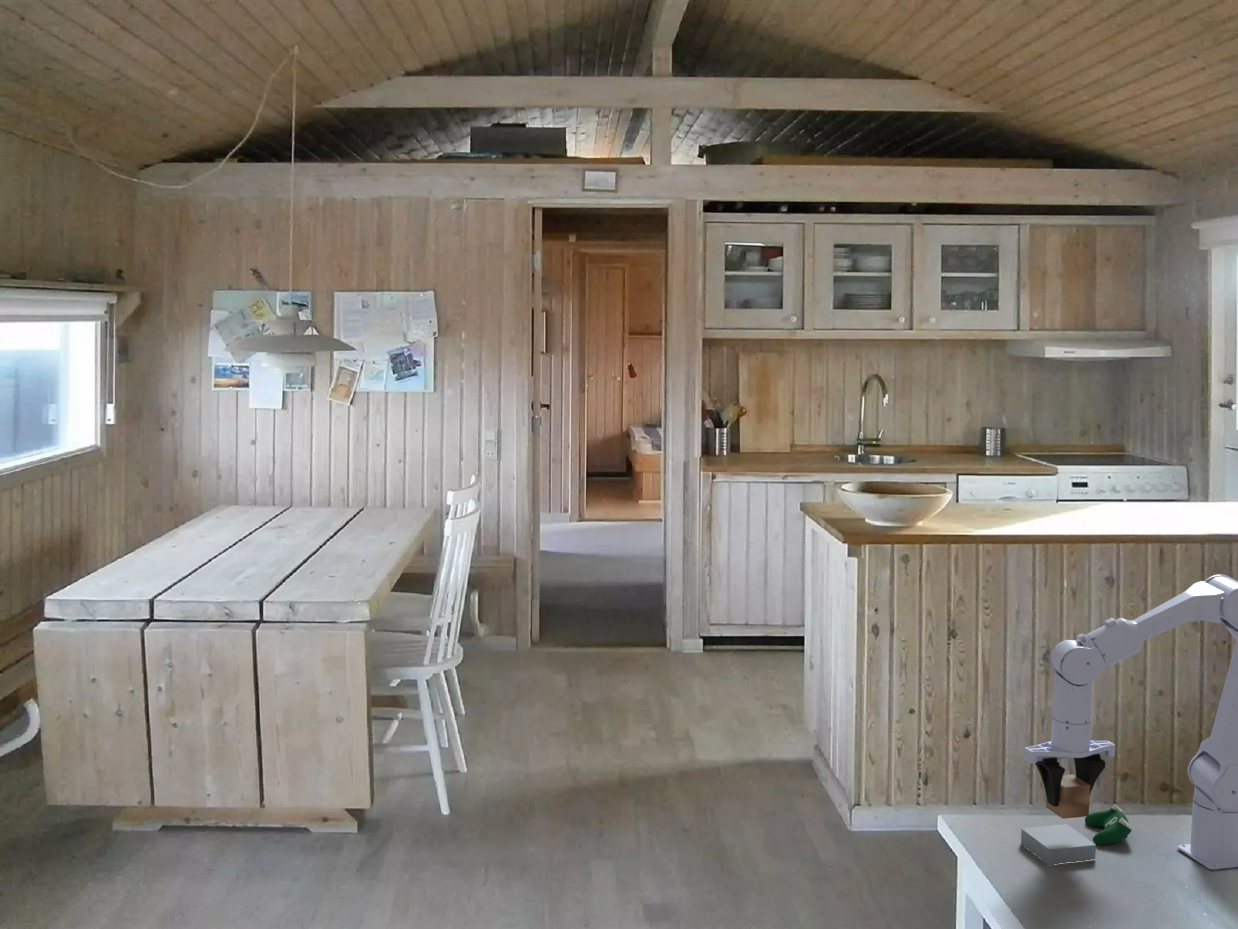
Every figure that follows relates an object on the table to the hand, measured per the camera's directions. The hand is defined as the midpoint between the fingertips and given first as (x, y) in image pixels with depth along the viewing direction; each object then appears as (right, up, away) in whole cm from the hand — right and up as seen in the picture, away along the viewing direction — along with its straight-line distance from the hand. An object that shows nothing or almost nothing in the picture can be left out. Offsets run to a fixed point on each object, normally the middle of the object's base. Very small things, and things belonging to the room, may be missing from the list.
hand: (1067, 802), depth 188 cm
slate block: (-1, -9, +2) cm, 9 cm away
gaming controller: (+10, -8, +8) cm, 15 cm away
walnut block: (0, -1, 0) cm, 1 cm away
